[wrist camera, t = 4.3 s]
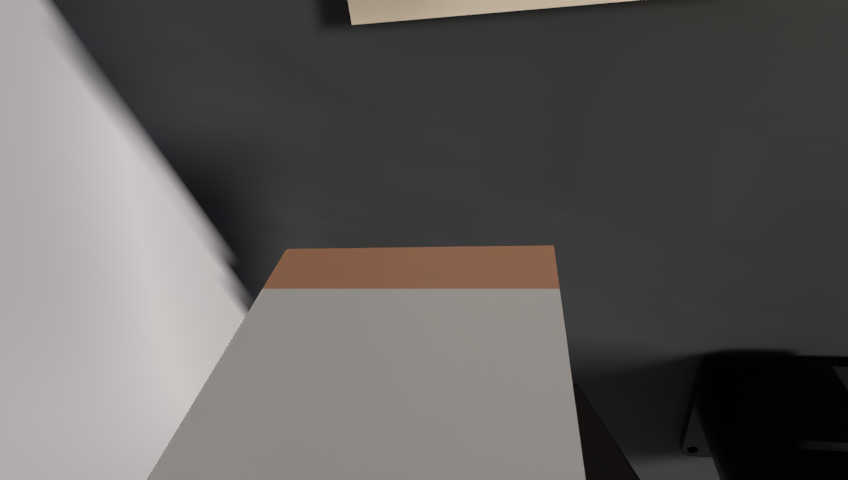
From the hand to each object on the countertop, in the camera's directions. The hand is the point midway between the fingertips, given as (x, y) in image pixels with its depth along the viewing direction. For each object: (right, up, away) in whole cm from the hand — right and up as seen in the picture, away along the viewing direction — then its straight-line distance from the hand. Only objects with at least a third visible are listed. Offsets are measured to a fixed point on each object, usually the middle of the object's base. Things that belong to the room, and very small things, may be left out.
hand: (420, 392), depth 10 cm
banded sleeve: (0, +1, +1) cm, 1 cm away
